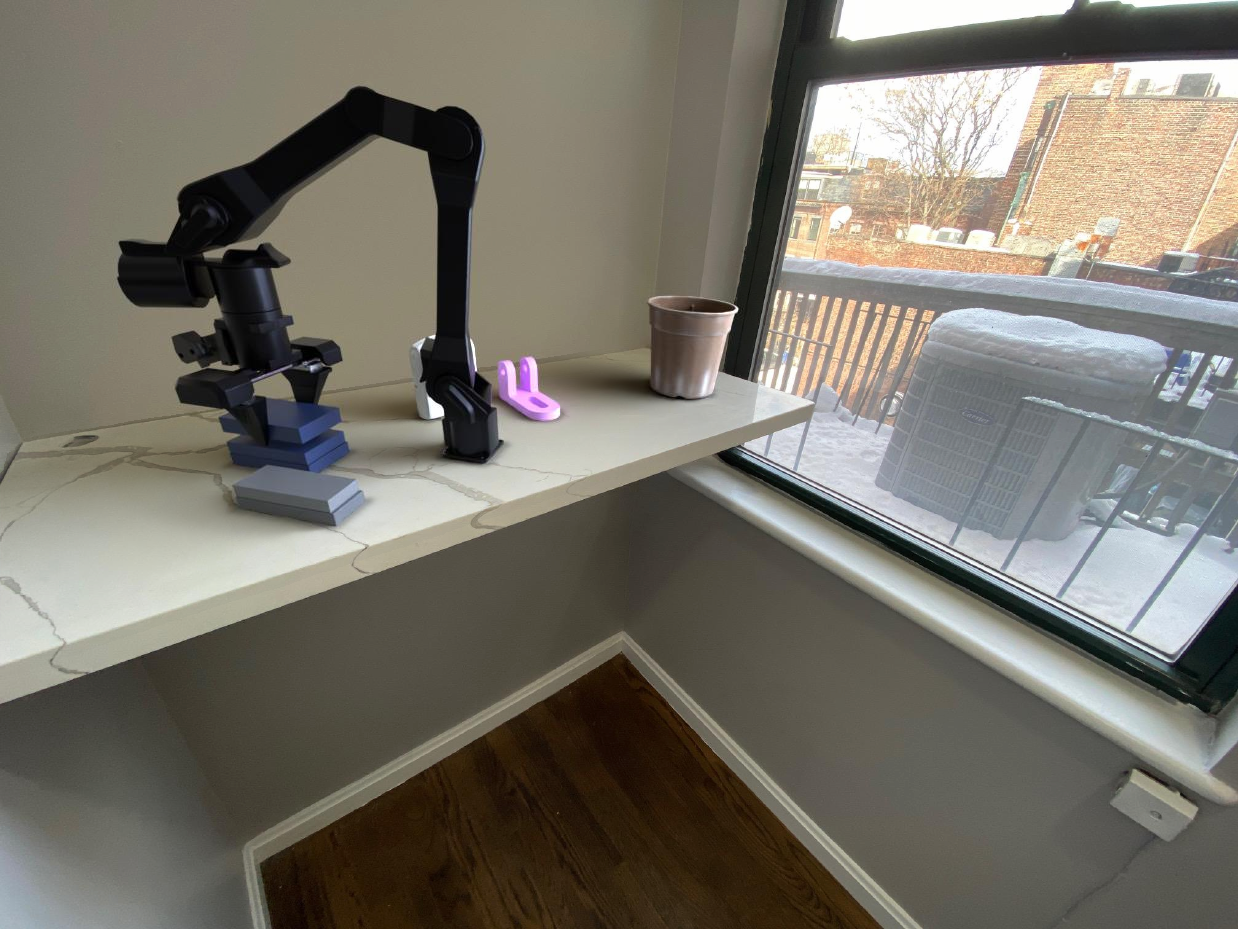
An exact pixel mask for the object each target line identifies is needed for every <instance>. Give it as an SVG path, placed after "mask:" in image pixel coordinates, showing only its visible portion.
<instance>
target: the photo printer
mask: <svg viewBox="0 0 1238 929" xmlns="http://www.w3.org/2000/svg"><path fill="white" fill-rule="evenodd" d="M435 335H436V334H433V335H429V336H427V337H428V338H432V339H435ZM425 338H426V337H424V338H422V339H420V340H418V341H416V342H414V343H413V344H411V345H410V347H409V350H408V354H409V355H408V356H409V362H410V369H411V375H412V381H413V382H412V383H413V388H414V395H415V401H416V408H417V412H418V414H419V417H420V418H421V419H424V420H433V419H438V418H441V417H444V410H443V408H442V406H441V405H439V404H437V403H435V402H434V401H433V400H432V399H431V398H430V397H429V396H428V394H427V392H426V388H425V382H426V381H425V382H423V383H420V382H419V380H420V378H421V375H422V371H423V369H422V362H421V357H420V349H421V347H422V345H423V343H424V340H425ZM470 340H471V345H472V350H473V357H474V364H475V371H477V360H476V351H475V345H474V342H473V340H472V339H471V338H470ZM477 372H478V371H477Z"/></svg>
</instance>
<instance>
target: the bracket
mask: <svg viewBox="0 0 1238 929" xmlns="http://www.w3.org/2000/svg"><path fill="white" fill-rule="evenodd" d="M519 360H520V361H519V374H520V375H519V381H520V383H519V384H520V385H517V380H516V379H517V378H516V376H517V375H516V368H515V366H514V364H513V362H512V361H511V360H510V359H504V360H500V361H498V364H497V377H498V379H497V380H498V396H499V398H500V399H501V400H502V401H504V402H506V403H507V404H508V405H510V406H511V407H513V408H514V409H515V410H517V411H519V412H520V413H521V414H523V415H524V416H526V417H527V418H528V419H530V420H533V421H534V420H535V421H543V422H544V421H552V420H554V419H557V418H559V417H560V416H561V404H560V403H559V402H557V401H555V400H554V399H553V398H550V397H549V396H547V395H546V394H544V393H543V392H541V391H539V386H538V385H539V384H538V383H539V382H538V381H539V380H538V365H537V362H536V360H535V358H534V357H533V356H526V357H525V356H524V357H521V358H520V359H519Z"/></svg>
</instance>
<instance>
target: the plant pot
mask: <svg viewBox="0 0 1238 929" xmlns="http://www.w3.org/2000/svg"><path fill="white" fill-rule="evenodd" d="M646 304H647V305H648V312H649V315H648V317H649V320H648V322H649V325H650V382H649V383H650V387H651V389H652V390H654V391H656V393H658V394H661V395H664V396H667V397H671V398H676V397H679V396H680V397H682V398H684V399H686V400H687V399H690V400H691V399H703V398H706V397H708V396H711V395H712V394H713V393H714V389H715V384H716V380H717V376H718V373H719V368H720V364H721V360H722V358H723V352H724V349H725V345H726V342H727V337H728V333H730V332H731V329H732V325H733V321H734V317H735V314H737V313H738V311H739V307H738V306H737V305H735V304H732V303H731V302H727V301H723V300H718V299H712V298H708V297H700V296H691V295H657V296H652V297H649V298H648V299H647V300H646Z"/></svg>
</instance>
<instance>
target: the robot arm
mask: <svg viewBox="0 0 1238 929" xmlns="http://www.w3.org/2000/svg"><path fill="white" fill-rule="evenodd" d="M380 138H382V139H386V140H389V141H393V142H395V143H399V144H401V145H405V146H408V147H410V148H414V149H417V150H420V151H422V152H426V153H427V159H428V164H429V171H430V172H429V173H430V177H431V181H432V185H433V191H434V195H435V202H436V207H437V208H436V209H437V212H436V214H437V216H436V217H437V219H436V220H437V222H436V223H437V224H436V226H437V227H436V234H437V235H436V320H435V321H436V323H435V324H436V326H435V327H436V330H435V334H434V335H435V339H432V338H428V337H429V336H426V337H424V338H425V340H424V343H423V345H422V347H421V349H420V357H421V362H422V369H423V371H422V375H421V378H420V380H419V382H420V383H423V382H425V381H426V382H425V388H426V392H427V394H428V396H429V397H430V398H431V399H432V400H433V401H434V402H435V403H437V404H439V405H441V406H442V408H443V410H444V416H443V418H442V419H441V426H442V435H443V444H444V447H445V449H444V450H443V451H442V453H441V456H442V457H444V458H449V459H456V460H462V461H468V462H469V461H470V462H475V463H482V464H483V463H487V462H489V461H490V460H491V459H492V457H493V456H494V455H495V454H496V453H497V452H498V451H499V450H500V449H501V448H502V447H503V445H505V440H504V439H500V438H499V437H500V436H499V421H498V420H499V419H498V408H497V407H495V406H492V404H493V403H492V400H493V399H492V398H493V384H492V383H491V382H490V381H489V380H488V379H486V378H485V377H484V376H483V375H482V374H480V373H479V372H478V371H475V364H474V357H473V350H472V345H471V340H472V339H471V335H470V329H469V315H470V313H469V312H470V292H471V290H470V288H471V287H470V286H471V262H472V239H473V238H472V236H473V235H472V234H473V211H474V206H475V202H476V197H477V193H478V189H479V184H480V179H481V175H482V170H483V165H484V160H485V156H486V140H485V137H484V134H483V131H482V128H481V125H480V124H479V123H478V121H477V120H476V118H475V117H474V116H473V115H472V114H471V113H469V111H467V110H466V109H463V108H461V107H459V106H457V105H444V106H442V107H440V108H437V109H436V110H432V109H429V108H426V107H424V106H421V105H419V104H414V103H412V102H408V101H406V100H402V99H399V98H395V97H392V96H388V95H385V94H381V93H379V92H377V91H376V90H374V89H373V88H370V87H368V86H364V85H357V86H354V87H351V88H350V89H349V90H348V91H347V92H346V94H345V95H344V96H343V98H341V99H340V100H339V101H337V102H336V103H334V104H333V105H330V107H328V108H327V109H325V110H324V111H323V112H321V113H320V114H318V115H317V116H316V117H314V118H313V119H311V120H309V121H308V122H307V123H306V124H304V125H302V126H301V127H299V128H298V129H297V130H296V131H294V132H292V133H291V134H290V135H288V136H287V137H284V139H282V140H281V141H279V142H278V143H276V144H275V145H274V146H272V147H271V148H270V149H268V150H266V151H265V152H263V153H262V154H261V155H259V156H258V157H256V158H255V159H254V160H252V161H248V162H246V163H244V164H241V165H238V166H234V167H231V168H227V169H225V170H221V171H218V172H215V173H213V174H210V175H208V176H205V177H203V178H200V179H198V180H195V181H192V182H189V183H188V184H186V185H184V186H183V187H182V188H181V189H180V190H179V191H178V193H177V196H176V201H177V206H178V207H177V208H178V213H179V217H178V219H177V221H176V222H175V225H174V226H173V229H172V231H171V233H170V236H169V238H168V240H167V241H152V240H147V239H141V238H128V239H122V240H119V241H118V243H117V244H118V247H119V248H120V251H121V253H120V255H119V258H118V261H117V274H118V276H117V277H116V280H117V284H118V286H119V287H120V290H121V292H122V293H123V295H124V296H125V297H126V299H127V300H128V301H129V302H130V303H131V304H132V305H134V306H136V307H139V308H156V309H157V308H159V309H160V308H163V309H164V308H168V309H170V308H172V309H173V308H175V309H179V308H180V309H204V308H206V307H207V306H208V305H209V303H210V300H211V299H214V298H216V301H217V304H218V307H219V310H220V313H221V317H218V318H214V319H213V327H214V333H211V334H207V335H203V336H201V335H200V334H199V333H198V332H197V331H195V330H189V331H185V332H181V333H178V334H175V335H173V336H171V341H172V344H173V348H174V352H175V353H176V354H177V357H178V358H179V359H180V361H181V362H182V363H183V364H186V365H189V364H192V363H195V362H197V364H198V365H199V367H200V368H201V369H199V370H196V371H193V372H190V373H186V374H184V375H181V376H179V377H178V378H177V380H176V382H175V383H174V390H175V393H176V395H177V398H178V400H179V403H180V404H184V405H189V406H190V405H191V406H196V407H197V406H198V407H204V408H211V409H219V410H225V411H226V412H227V413H230V414H231V415H232V416H233V417H234V418H235V419H236V420H237V421H238V422H239V423H240V424H241V425H242V427H243V428H244V429H245V430H246V431H247V432H248V433H249V435H250V436H251V437H252V438H253V439H254V440H255V442H256V443H257V444H258V445H259V446H264V447H266V446H268V445H269V427H268V415H267V402H266V398H267V396H264V395H257V394H255V391H256V390H255V386H254V384H255V383H258V382H260V381H263V380H265V379H268V378H270V377H273V376H276V375H278V374H282V376H283V377H284V378H285V379H286V380H287V381H288V382H289V385H290V388H291V391H292V394H293V398H294V401H295V402H302V403H310V404H317V405H319V402H320V398H321V396H322V392H323V389H324V387H325V384H326V382H327V379H328V377H329V374H330V373H332V372H333V367H332V366H334V365H337V364H339V363H342V362H343V361H344V358H343V355H342V349H341V346H340V345H339V344H337V343H336V342H335V340H333V339H328V338H318V337H312V336H311V337H310V336H301V337H298V338H295V339H291V340H290V336H289V333H288V328H287V327H289V326H292V325H295V322H294V318H293V315H290V314H284V313H283V309H282V305H281V301H280V298H279V294H278V291H277V290H278V289H277V286H276V282H275V279H274V275H273V270H272V269H281V268H283V267H286V266H289V265H290V264H291V263H292V260H291V258H290V257H289V256H287V255H285V253H283V252H281V251H279V250H278V249H276V248H275V246H273V244H272V243H271V242H268V241H267V242H262V243H260V244H259V245H258V247H257V248H256V249H249V248H248V249H246V248H245V249H243V248H242V249H241V248H228V249H226V250H225V251H224V253H223V255H222V257H209V256H205V254H204V253H208V252H212V251H217V250H220V249H225V248H227V247H228V246H230V245H234V244H235V245H236V244H240V243H243V242H248V241H252V240H254V239H257V238H259V237H260V236H261V235H262V234H264V232H265V231H266V230H267V229H268V228H269V227H270V225H271V224H273V222H274V221H275V220H276V219H277V218H278V217H279V216H280V214H281V212H282V211H283V209H284V208H285V207H286V205H287V203H288V202H289V201H290V200H291V199H292V198H293V197H294V196H295V195H296V194H298V193H299V192H301V191H303V190H304V189H305V188H307V187H308V186H310V185H312V184H313V183H314V182H316V181H317V180H318V179H320V178H321V177H323V176H324V175H326V174H327V173H328V172H331V170H333V169H334V168H336V167H338V166H339V165H341V164H342V163H344V161H347V160H348V159H349V158H351V157H352V156H354V155H355V154H356V153H358V152H360V151H361V150H363V149H364V148H366V147H367V146H368V145H370V144H372V143H373V142H374V141H375V140H378V139H380ZM470 339H471V340H470ZM218 362H221V365H222V366H226V367H232V366H238V368H237V369H235V370H229V369H220V368H213V367H210V366H211V364H215V363H218Z"/></svg>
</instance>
